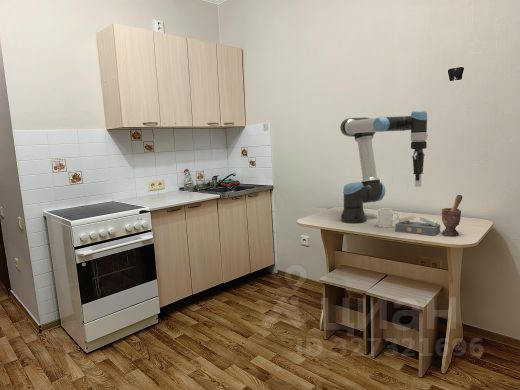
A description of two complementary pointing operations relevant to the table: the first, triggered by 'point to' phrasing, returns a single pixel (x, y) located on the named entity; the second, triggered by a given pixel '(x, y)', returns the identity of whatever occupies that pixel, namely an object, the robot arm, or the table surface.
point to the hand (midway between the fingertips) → (418, 186)
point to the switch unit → (417, 228)
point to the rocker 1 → (407, 218)
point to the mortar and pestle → (452, 218)
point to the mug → (386, 217)
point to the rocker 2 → (428, 220)
